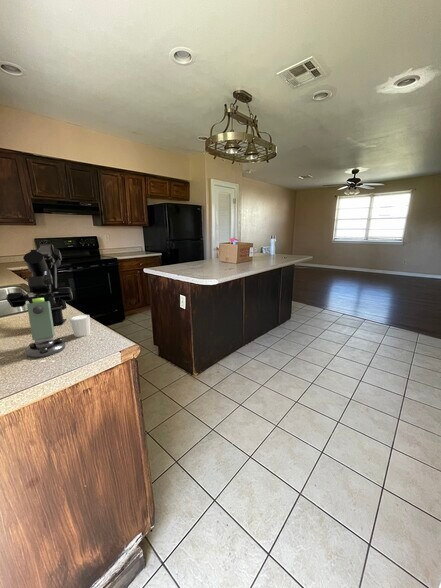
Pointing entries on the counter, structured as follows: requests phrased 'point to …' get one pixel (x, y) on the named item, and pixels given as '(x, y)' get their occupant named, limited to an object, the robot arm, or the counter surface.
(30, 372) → the counter surface
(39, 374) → the counter surface
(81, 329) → the white cup
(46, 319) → the dome-topped green pillar
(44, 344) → the base
